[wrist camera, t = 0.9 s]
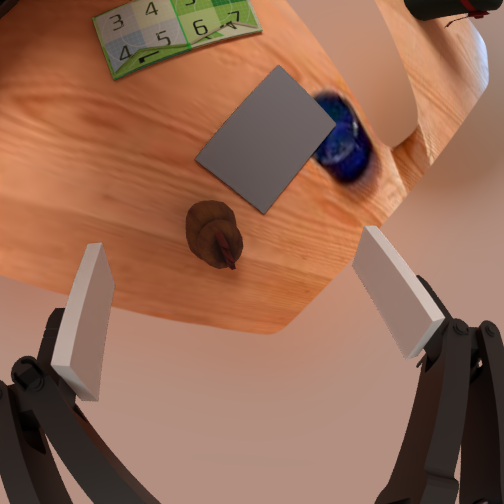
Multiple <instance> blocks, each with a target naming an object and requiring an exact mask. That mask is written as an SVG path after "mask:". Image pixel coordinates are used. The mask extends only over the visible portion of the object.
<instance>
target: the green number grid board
mask: <svg viewBox="0 0 504 504" xmlns="http://www.w3.org/2000/svg"><path fill="white" fill-rule="evenodd" d="M92 20H93V23H94V26H95V29H96V32H97V35H98V38H99V41H100V44H101V46H102V49H103V52H104V55H105V58H106V61H107V63H108V66H109V69H110V72H111V74H112V77H113V79H114V80H116V79H118V78H121V77H123V76H125V75H127V74H130V73H132V72H134V71H136V70H139V69H141V68H144V67H146V66H149V65H151V64H154V63H156V62H159V61H161V60H164V59H167V58H169V57H172V56H175V55H178V54H181V53H184V52H187V51H190V50H193V49H196V48H199V47H203V46H206V45H210V44H213V43H217V42H220V41H224V40H228V39H232V38H236V37H240V36H244V35H249V34H254V33H258V32H261V31H263V30H262V27H261V25H260V22H259V20H258V18H257V15H256V13H255V10H254V8H253V6H252V4H251V1H250V0H135V1H132V2H129V3H127V4H124V5H121V6H119V7H116V8H114V9H112V10H109V11H107V12H104V13H102V14H100V15H98V16H95V17H93V18H92Z"/></svg>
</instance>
